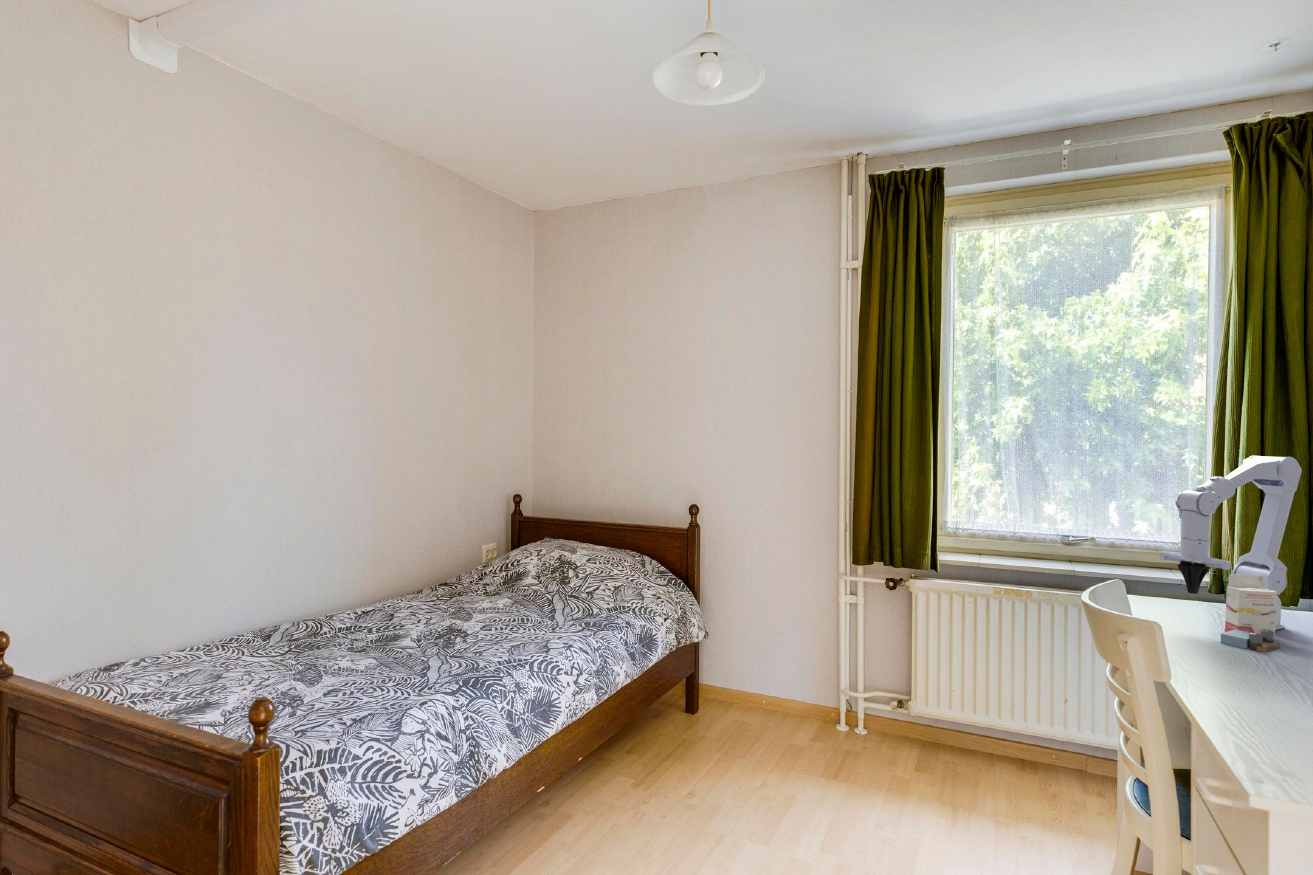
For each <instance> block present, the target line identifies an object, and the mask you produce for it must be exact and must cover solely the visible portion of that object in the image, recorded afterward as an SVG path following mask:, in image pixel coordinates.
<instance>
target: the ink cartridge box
mask: <svg viewBox="0 0 1313 875" xmlns="http://www.w3.org/2000/svg"><path fill="white" fill-rule="evenodd" d="M1245 578H1247V579H1251V580H1252V582H1242V581H1240V580H1241V579H1245ZM1263 581H1264V576H1260V575H1241V574H1232V573H1230V574H1229V575H1228V582H1227V586H1226V597H1225V598H1226V599H1225V601H1226V602H1225V620H1224V621H1225V622H1224V632H1228V631H1231V630H1235V629H1237V630H1242V631H1247V632H1253V633H1259V634H1260V633H1261V629H1267V630H1272V631H1274V640H1275V638H1276V630H1275V623H1276V606H1277V596H1278V595H1277V592H1276V591H1272V590H1269V589H1265V588H1263Z"/></svg>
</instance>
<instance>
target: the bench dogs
mask: <svg viewBox="0 0 1313 875" xmlns="http://www.w3.org/2000/svg"><path fill="white" fill-rule="evenodd" d="M1249 648H1250V649H1249ZM1277 648H1280V642H1278V641H1277V642H1276V641H1275V639H1274V631H1272V630H1267V629H1261V633H1260V634H1259V633H1253V632H1250V633H1249V645H1248V648H1247V649H1249V650H1253V651H1258V652H1262V653H1266V652H1269V651H1272V650H1276V649H1277Z"/></svg>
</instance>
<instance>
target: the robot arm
mask: <svg viewBox="0 0 1313 875" xmlns="http://www.w3.org/2000/svg"><path fill="white" fill-rule="evenodd" d="M1302 472H1303V469H1302V467H1301V466H1300V464H1299V462H1298V460H1297V459H1296V458H1294V457H1292V456H1268V455H1267V456H1262V455H1256V454H1254V455H1253V454H1252V455H1250V456H1249V457H1247V458H1245V459H1243V460H1242V463H1241V465H1240V466H1239V467H1237V468H1236V469H1234V470H1233V471H1231V472H1229V474H1227V475H1226V476H1224V477H1223V476H1211V477H1210V478H1209V480H1208V481H1206V482H1205V483H1203V484H1201V485H1197V486H1196V487H1195V488H1194V489H1193V490H1188V489H1187V490H1184V491H1183V492H1181V493H1179V495H1178V497H1177V499H1176V500H1175V507H1176V508H1177V511H1178V517H1179V519H1180V520H1181V521H1180V550H1179V552H1180V553H1179V552H1173V551H1172V552H1171V551H1166V550H1165V551H1164V550H1163V551H1160V552H1159V560H1162V561H1165V560H1166V561H1172V562H1178V563H1179V564H1177V568H1178V570H1179V571H1180V573H1181V575H1182V577H1183V580H1184V582H1185V586H1186V590H1187V593H1188V594H1194V595H1195V594H1199V590H1200V587H1201V584H1202V582H1203V580H1204V578H1205V577H1206V574H1208V572H1209V571H1210V569H1211V568H1216V569H1221V570H1226V571H1227V570H1231V561H1230V560H1224V559H1219V558H1216V557H1210V529H1211V528H1210V527H1211V515H1213V514H1215V513H1216V511H1217V509H1218V507H1220V504H1222V503H1223V502H1225V501H1226V500H1228V499H1230V498H1232V497H1233V496H1234V495H1235V494H1236V489H1238V488H1240V487H1242V486H1243V485H1246V484H1247V483H1250V482H1252V483H1253V484H1254V485H1255V486H1256V487H1257V488H1258V489H1261V490H1262V491H1263V493H1264V494H1265V496H1264V500H1263V503H1262V508H1261V511H1260V515H1259V518H1258V519H1259V520H1258V522H1257V525H1256V526H1257V527H1256V530H1255V533H1254V538H1253V542H1252V544H1251V549H1250V551H1249V552H1247V553H1245V554H1243V555H1241V556H1239V557H1238V560H1237V563H1236V565H1235V566H1234V567H1233V568H1232V571H1231V574H1241V575H1260V576H1264V581H1263V588H1265V589H1269V590H1272V591H1276V592H1277V606H1276V623H1275V631H1276V630H1280V629H1284V628H1286V625H1285V624H1282V623H1281V621H1282V618H1281V617H1282V601H1281V599H1280V597H1279V596H1280V595H1281V594H1282V592H1284V590H1285V589H1286V588H1287V584H1288V580H1287V572H1288V567H1287V566H1286V565H1285V564H1284V563H1283V562H1282V561H1281V560H1280V559H1279V558H1278V557H1279V553H1280V548H1281V545H1282V542H1283V538H1284V533H1285V531H1286V526H1287V523H1288V518H1289V516H1290V511H1291V508H1292V503H1293V500H1294V495H1295V493H1296V492H1297V489H1298V486H1299V483H1300V478H1301V475H1302ZM1240 581H1242V582H1252V580H1251V579H1247V578H1245V579H1241V580H1240Z"/></svg>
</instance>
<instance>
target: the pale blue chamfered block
mask: <svg viewBox="0 0 1313 875" xmlns="http://www.w3.org/2000/svg"><path fill="white" fill-rule="evenodd" d="M1249 633H1250V632H1247V631H1242V630H1237V629H1235V630H1231V631H1228V632H1225V631H1224V632H1222V633H1220V643H1221V642H1223V643H1222V644H1225V643H1226V644H1225V645H1229V644H1231V645H1230V646H1233V645H1236V646H1235V647H1238V646H1239V648H1242V647H1244V648H1243V649H1249V648H1248V645H1249Z"/></svg>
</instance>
